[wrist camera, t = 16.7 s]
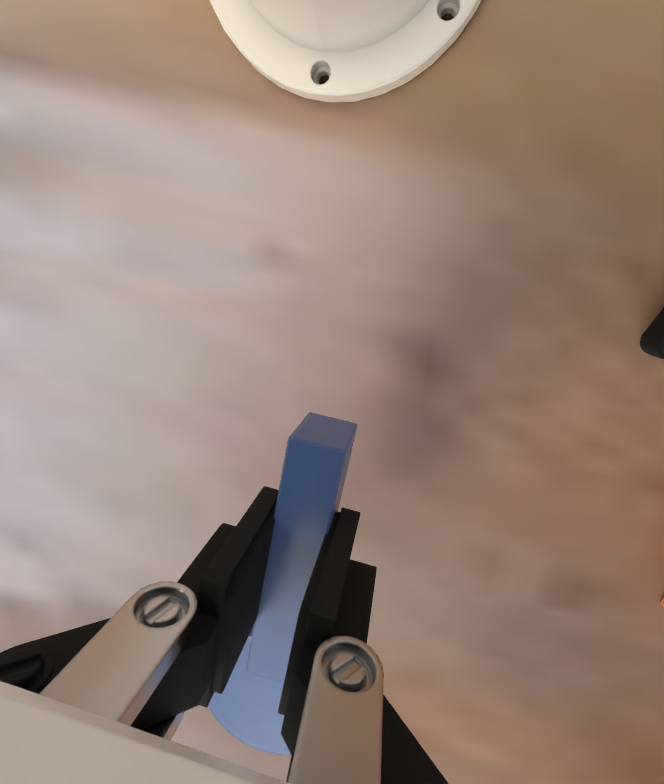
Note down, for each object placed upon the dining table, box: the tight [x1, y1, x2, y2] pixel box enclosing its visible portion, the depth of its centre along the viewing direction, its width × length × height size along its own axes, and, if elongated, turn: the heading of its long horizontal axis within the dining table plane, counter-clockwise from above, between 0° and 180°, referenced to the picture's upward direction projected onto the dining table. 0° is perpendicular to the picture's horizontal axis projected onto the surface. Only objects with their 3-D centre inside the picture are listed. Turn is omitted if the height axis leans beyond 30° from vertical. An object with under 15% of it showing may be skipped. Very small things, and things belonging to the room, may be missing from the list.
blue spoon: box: [208, 412, 357, 755], centre depth 13 cm, size 11×4×2 cm, turn 169°
